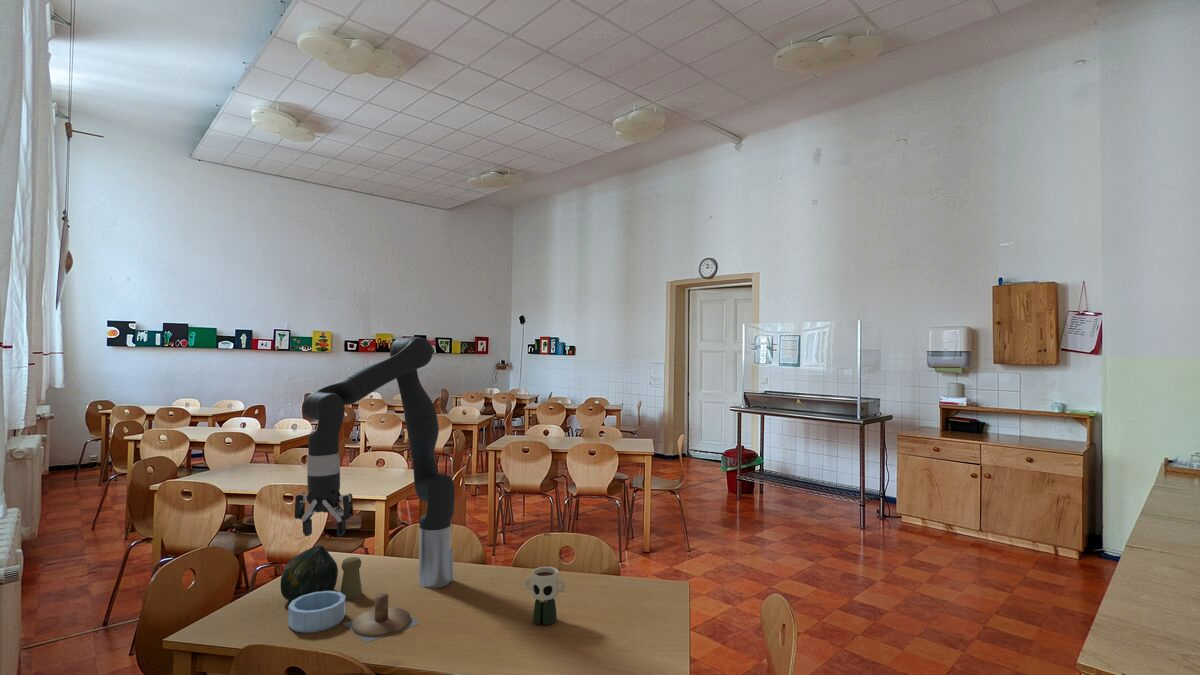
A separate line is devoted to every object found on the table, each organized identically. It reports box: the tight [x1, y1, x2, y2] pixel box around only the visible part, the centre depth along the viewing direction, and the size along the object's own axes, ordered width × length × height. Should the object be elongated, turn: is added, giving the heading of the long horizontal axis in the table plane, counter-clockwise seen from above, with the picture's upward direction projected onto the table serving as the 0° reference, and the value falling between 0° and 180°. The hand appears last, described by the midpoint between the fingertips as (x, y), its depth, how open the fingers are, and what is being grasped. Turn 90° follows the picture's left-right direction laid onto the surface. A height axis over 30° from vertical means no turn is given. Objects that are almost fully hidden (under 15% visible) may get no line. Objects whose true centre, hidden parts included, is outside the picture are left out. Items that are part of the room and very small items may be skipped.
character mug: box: [524, 566, 566, 626], centre depth 155 cm, size 11×7×13 cm, turn 79°
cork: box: [340, 556, 363, 600], centre depth 169 cm, size 6×6×11 cm
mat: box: [342, 606, 421, 643], centre depth 152 cm, size 14×14×1 cm
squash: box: [280, 544, 339, 601], centre depth 170 cm, size 14×15×15 cm
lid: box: [352, 592, 411, 636], centre depth 152 cm, size 14×14×7 cm
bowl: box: [287, 590, 347, 634], centre depth 153 cm, size 13×13×6 cm
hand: (324, 535), depth 150 cm, fingers open, 8 cm apart
